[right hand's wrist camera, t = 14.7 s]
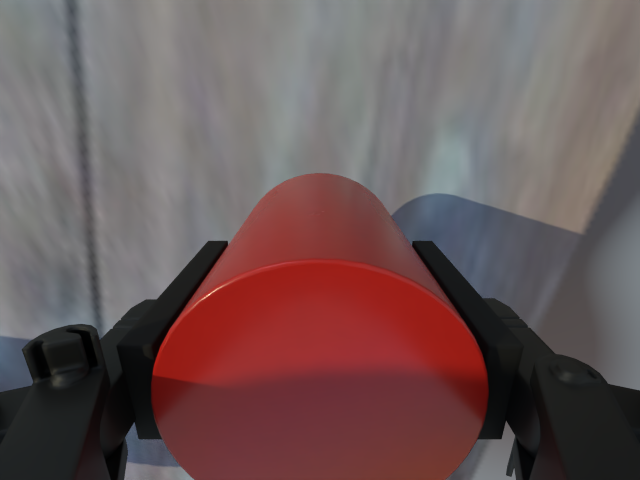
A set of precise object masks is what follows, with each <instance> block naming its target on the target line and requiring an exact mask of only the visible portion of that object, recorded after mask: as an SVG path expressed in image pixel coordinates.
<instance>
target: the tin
mask: <svg viewBox="0 0 640 480" xmlns="http://www.w3.org/2000/svg"><path fill="white" fill-rule="evenodd" d="M488 395H489V387H488V376H487V369H486V366H485V362H484V358H483V354H482V352H481V350H480V348H479V345H478V343H477V341H476V339H475V337H474V335H473V334H472V332H471V331H470V329H469V328H468V326H467V325H466V323H465V322H464V320H463V319H462V317H461V316H460V315H459V313H458V312H457V310H456V309H455V307H454V306H453V304H452V303H451V302H450V300H449V299H448V297H447V296H446V294H445V293H444V292H443V290H442V289H441V287H440V286H439V284H438V283H437V281H436V280H435V279H434V277H433V276H432V274H431V273H430V271H429V270H428V269H427V267H426V266H425V264H424V263H423V261H422V260H421V259H420V257H419V256H418V254H417V253H416V251H415V250H414V248H413V247H412V246H411V244H410V243H409V241H408V240H407V238H406V237H405V236H404V234H403V233H402V231H401V230H400V228H399V227H398V225H397V224H396V223H395V221H394V220H393V218H392V217H391V215H390V214H389V213H388V211H387V210H386V208H385V207H384V205H383V204H382V202H381V201H380V200H379V199H378V198H377V197H376V196H375V195H374V194H373V193H372V192H371V191H369V190H368V189H367V188H366V187H364V186H362V185H361V184H359V183H357V182H355V181H353V180H351V179H349V178H345V177H342V176H339V175H333V174H323V173H315V174H306V175H302V176H298V177H294V178H292V179H289V180H287V181H285V182H283V183H281V184H279V185H277V186H276V187H274V188H273V189H272V190H270V191H269V192H268V193H267V194H266V195H265V196H264V197H263V198H262V199H261V200H260V201H259V203H258V204H257V205H256V206H255V208H254V209H253V211H252V212H251V214H250V215H249V216H248V218H247V219H246V221H245V222H244V224H243V225H242V226H241V228H240V229H239V231H238V232H237V234H236V235H235V236H234V238H233V239H232V241H231V242H230V244H229V245H228V246H227V248H226V249H225V251H224V252H223V254H222V255H221V256H220V258H219V259H218V261H217V262H216V264H215V265H214V266H213V268H212V269H211V271H210V272H209V274H208V275H207V276H206V278H205V279H204V281H203V282H202V284H201V285H200V286H199V288H198V289H197V291H196V292H195V294H194V295H193V297H192V298H191V299H190V301H189V302H188V304H187V305H186V307H185V308H184V309H183V311H182V312H181V314H180V315H179V317H178V318H177V319H176V321H175V322H174V324H173V325H172V327H171V328H170V329H169V331H168V333H167V335H166V337H165V339H164V340H163V342H162V344H161V346H160V349H159V351H158V354H157V357H156V360H155V363H154V368H153V374H152V380H151V402H152V408H153V414H154V419H155V422H156V424H157V427H158V430H159V433H160V435H161V437H162V439H163V441H164V443H165V445H166V447H167V448H168V450H169V451H170V453H171V454H172V456H173V457H174V458H175V460H176V461H177V462H178V464H179V465H180V466H181V467H182V468H183V469H184V470H185V471H186V472H187V473H188V474H189V475H190V476H191V477H192V478H193V479H194V480H445V479H447V478H448V477H449V476H450V475H451V474H452V473H453V472H454V471H455V470H456V469H457V468H458V467H459V465H460V464H461V463H462V462H463V461H464V459H465V458H466V457H467V456H468V454H469V452H470V451H471V449H472V448H473V446H474V444H475V443H476V441H477V439H478V436H479V434H480V432H481V429H482V427H483V424H484V420H485V416H486V412H487V407H488Z"/></svg>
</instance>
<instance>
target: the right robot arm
mask: <svg viewBox="0 0 640 480" xmlns="http://www.w3.org/2000/svg"><path fill="white" fill-rule="evenodd" d="M227 246H228V241H208V242H207V243H206V244H205V245H204V246H203V248H202V249H201V250H200V251H199V252H198V253H197V254H196V256H195V257H194V258H193V259H192V260H191V261H190V262H189V264H188V265H187V266H186V267H185V268H184V269H183V270H182V271H181V273H180V274H179V275H178V276H177V277H176V278H175V279H174V281H173V282H172V283H171V284H170V285H169V286H168V287H167V289H166V290H165V291H164V292H163V293H162V294H161V295H160V296H159V298H158V299H157V300H144V301H143V302H141V303H139V304H138V305H136V306H134V307H132V308H131V309H130V310H129V311H128V312H127V313H126V314H125V315H124V316H123V317H122V318H121V320H119V321H118V322H117V323H116V324H115V325H114V326H113V329H110V330H109V331H108V332H107V333H106V334H105V336H104V337H103V338H102V339H101V340H99V336H98V332H97V329H96V328H94V327H93V326H91V325H85V324H77V325H68V326H64V327H60V328H56V329H53V330H51V331H49V332H46V333H44V334H41V335H40V336H38V337H36V338H35V339H33V340H32V341H30V342H29V343H28V344H27V345H26V346H25V347H24V348H23V349H22V351H23V354H24V357H25V360H26V362H27V365H28V368H29V371H30V374H31V376H32V379H33V384H32V386H28V387H23V388H18V389H14V390H9V391H4V392H0V480H124V476H125V469H126V462H127V455H128V449H127V443H126V439H125V436H126V435H127V433H128V431H129V430H130V428H131V426H132V425H133V423H134V422H135V425H136V430H137V434H138V438H139V439H162V437H161V435H160V433H159V430H158V427H157V424H156V422H155V419H154V414H153V408H152V402H151V380H152V374H153V368H154V363H155V360H156V357H157V354H158V351H159V349H160V346H161V344H162V342H163V340H164V339H165V337H166V335H167V333H168V331H169V329H170V328H171V327H172V325H173V324H174V322H175V321H176V319H177V318H178V317H179V315H180V314H181V312H182V311H183V309H184V308H185V307H186V305H187V304H188V302H189V301H190V299H191V298H192V297H193V295H194V294H195V292H196V291H197V289H198V288H199V286H200V285H201V284H202V282H203V281H204V279H205V278H206V276H207V275H208V274H209V272H210V271H211V269H212V268H213V266H214V265H215V264H216V262H217V261H218V259H219V258H220V256H221V255H222V254H223V252H224V251H225V249H226V248H227ZM412 247H413V248H414V250H415V251H416V253H417V254H418V256H419V257H420V259H421V260H422V261H423V263H424V264H425V266H426V267H427V269H428V270H429V271H430V273H431V274H432V276H433V277H434V279H435V280H436V281H437V283H438V284H439V286H440V287H441V289H442V290H443V292H444V293H445V294H446V296H447V297H448V299H449V300H450V302H451V303H452V304H453V306H454V307H455V309H456V310H457V312H458V313H459V315H460V316H461V317H462V319H463V320H464V322H465V323H466V325H467V326H468V328H469V329H470V331H471V332H472V334H473V335H474V337H475V339H476V341H477V343H478V345H479V348H480V350H481V352H482V354H483V358H484V362H485V366H486V369H487V376H488V387H489V395H488V407H487V412H486V416H485V420H484V424H483V427H482V429H481V432H480V434H479V436H478V439H502V435H503V431H504V426H505V422H506V421H507V423H508V424H509V426H510V428H511V429H512V431H513V432H514V434H515V439H514V443H513V447H512V451H511V455H510V458H509V462H508V466H507V472H506V475H507V476H510V477H511V476H512V473H513V469H514V468H515V475H516V480H640V391H639V390H634V389H630V388H625V387H620V386H615V385H610V384H608V383H607V382H606V380H605V379H604V378H603V377H602V375H601V374H600V373H599V372H597V371H596V370H595V369H593V368H592V367H590V366H589V365H587V364H585V363H583V362H581V361H579V360H577V359H574V358H571V357H567V356H564V355H558V354H555V353H554V352H553V351H552V350H551V349H550V348H549V347H548V346H547V345H546V344H545V343H544V342H543V341H542V340H541V339H540V338H539V337H538V336H537V335H536V334H535V333H534V332H533V331H532V330H531V329H530V328H528V325H527V324H526V323H525V322H524V321H523V320H522V319H519V316H518V315H517V314H516V313H515V312H514V311H513V310H512V309H511V308H510V307H508V306H507V305H505V304H503V303H502V302H500V301H498V300H496V299H495V298H482V297H481V296H480V295H479V294H478V293H477V292H476V291H475V289H474V288H473V287H472V286H471V285H470V284H469V283H468V281H467V280H466V279H465V278H464V277H463V276H462V275H461V273H460V272H459V271H458V270H457V269H456V268H455V267H454V266H453V264H452V263H451V262H450V261H449V260H448V259H447V258H446V256H445V255H444V254H443V253H442V252H441V251H440V250H439V248H438V247H437V246H436V245H435V244H434V243H433V242H432V241H413V243H412Z"/></svg>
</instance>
